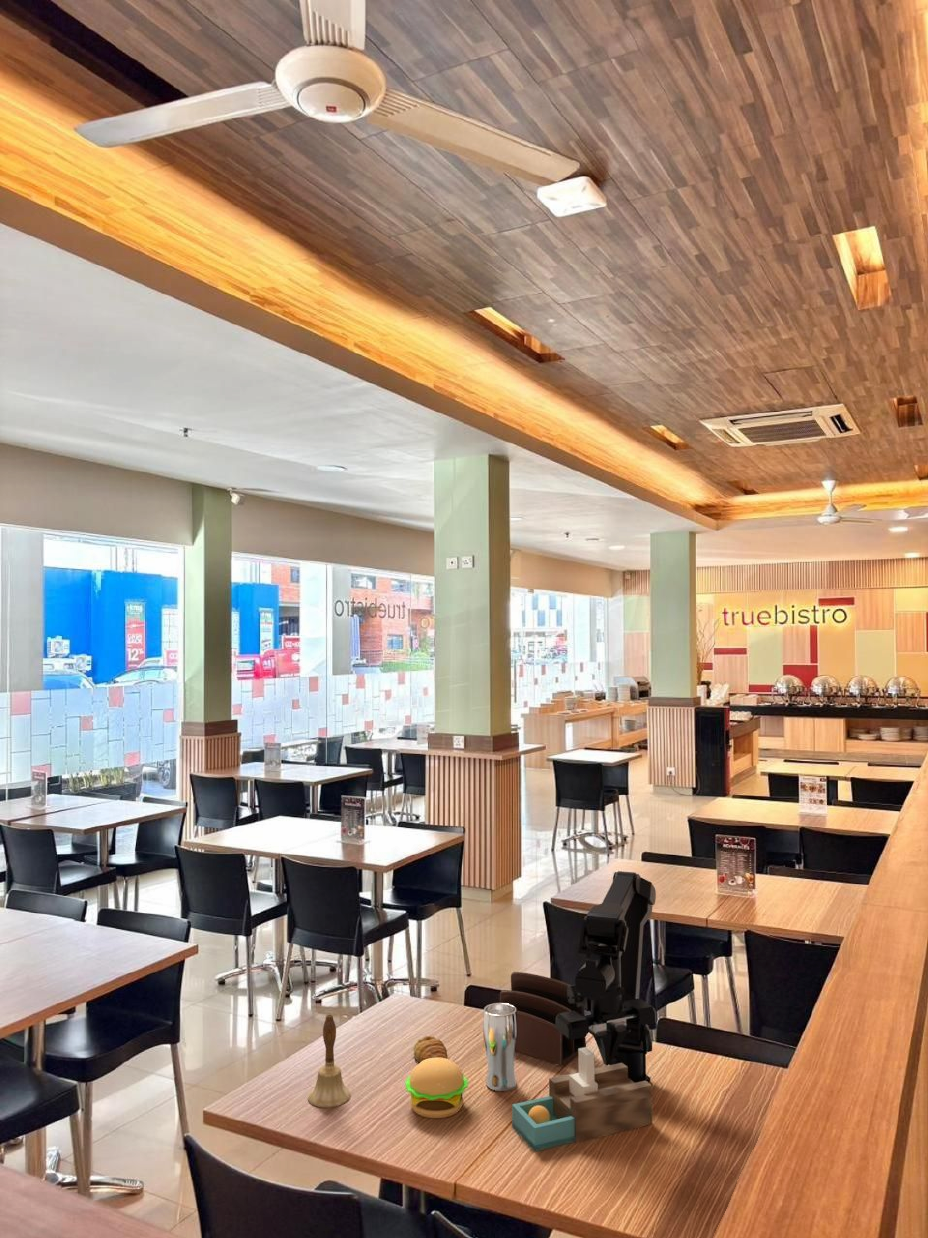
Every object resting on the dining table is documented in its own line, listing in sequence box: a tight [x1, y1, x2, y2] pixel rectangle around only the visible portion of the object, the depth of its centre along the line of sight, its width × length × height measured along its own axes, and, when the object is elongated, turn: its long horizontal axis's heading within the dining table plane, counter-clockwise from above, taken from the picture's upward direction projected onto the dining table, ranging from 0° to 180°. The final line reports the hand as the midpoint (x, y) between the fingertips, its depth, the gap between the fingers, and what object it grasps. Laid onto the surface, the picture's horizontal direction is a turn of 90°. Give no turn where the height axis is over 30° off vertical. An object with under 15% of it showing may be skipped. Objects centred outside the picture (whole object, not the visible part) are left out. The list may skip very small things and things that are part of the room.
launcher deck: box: [548, 1063, 653, 1144], centre depth 169 cm, size 16×10×7 cm, turn 113°
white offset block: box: [569, 1046, 598, 1096], centre depth 167 cm, size 3×5×8 cm, turn 23°
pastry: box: [413, 1035, 449, 1063], centre depth 194 cm, size 9×7×4 cm
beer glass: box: [482, 1002, 518, 1092], centre depth 183 cm, size 7×7×15 cm
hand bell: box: [307, 1013, 352, 1109], centre depth 178 cm, size 8×8×16 cm
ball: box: [528, 1105, 550, 1124], centre depth 164 cm, size 4×4×4 cm
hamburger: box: [405, 1058, 469, 1119], centre depth 174 cm, size 12×12×9 cm
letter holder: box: [499, 971, 587, 1067], centre depth 200 cm, size 10×20×14 cm, turn 51°
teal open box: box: [511, 1095, 576, 1152], centre depth 164 cm, size 8×9×4 cm
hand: (607, 1064), depth 169 cm, fingers closed
